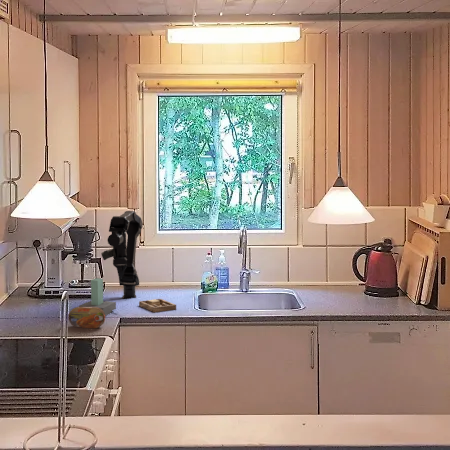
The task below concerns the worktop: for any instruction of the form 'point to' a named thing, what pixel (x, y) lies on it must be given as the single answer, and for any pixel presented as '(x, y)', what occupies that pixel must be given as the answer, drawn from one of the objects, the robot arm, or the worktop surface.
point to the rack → (163, 306)
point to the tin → (87, 317)
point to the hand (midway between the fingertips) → (120, 277)
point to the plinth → (102, 306)
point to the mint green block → (96, 291)
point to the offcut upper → (154, 302)
